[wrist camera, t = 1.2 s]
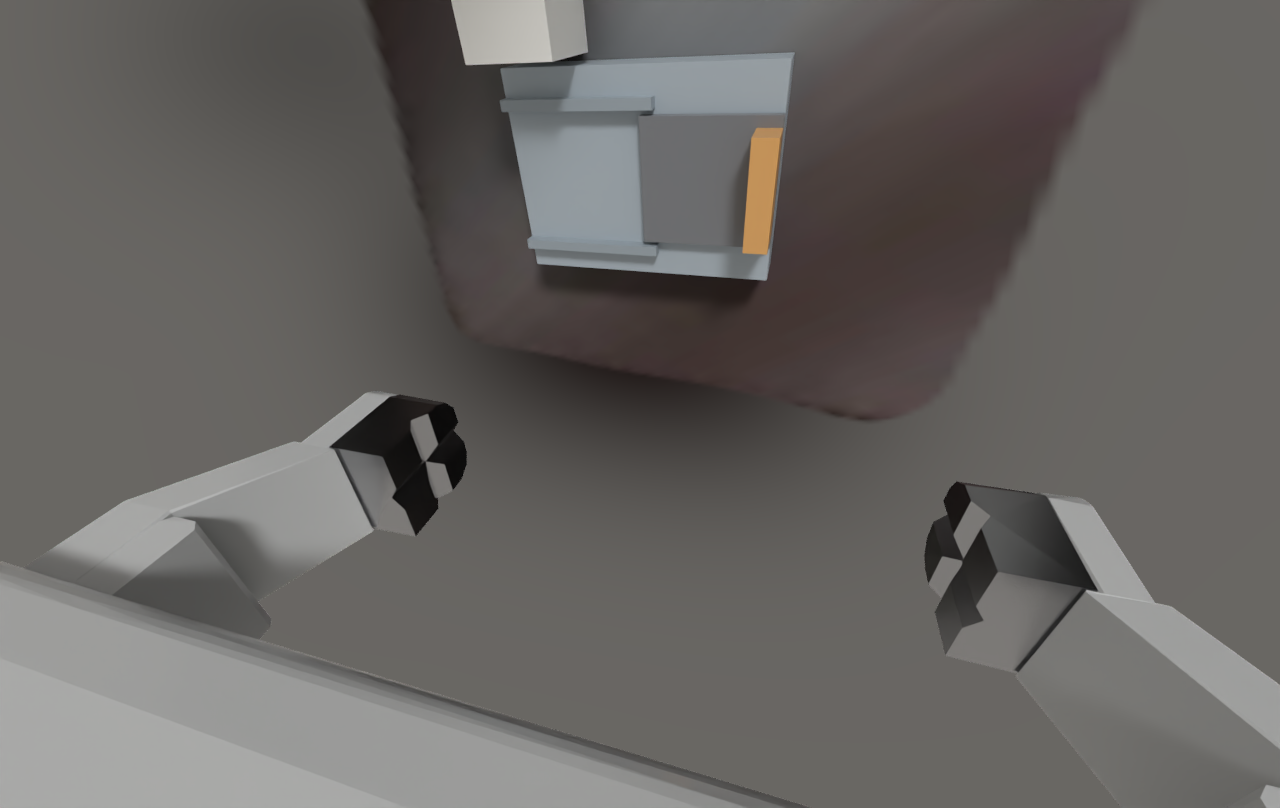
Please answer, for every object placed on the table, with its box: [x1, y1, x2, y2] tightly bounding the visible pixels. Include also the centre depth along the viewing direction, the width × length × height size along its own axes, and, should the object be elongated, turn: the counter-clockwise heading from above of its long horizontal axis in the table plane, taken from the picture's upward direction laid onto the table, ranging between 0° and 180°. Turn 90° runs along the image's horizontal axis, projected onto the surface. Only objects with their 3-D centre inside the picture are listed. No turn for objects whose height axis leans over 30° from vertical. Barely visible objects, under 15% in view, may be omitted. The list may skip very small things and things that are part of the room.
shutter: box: [638, 113, 785, 255], centre depth 29 cm, size 7×8×3 cm
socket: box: [500, 52, 795, 280], centre depth 32 cm, size 12×16×4 cm
